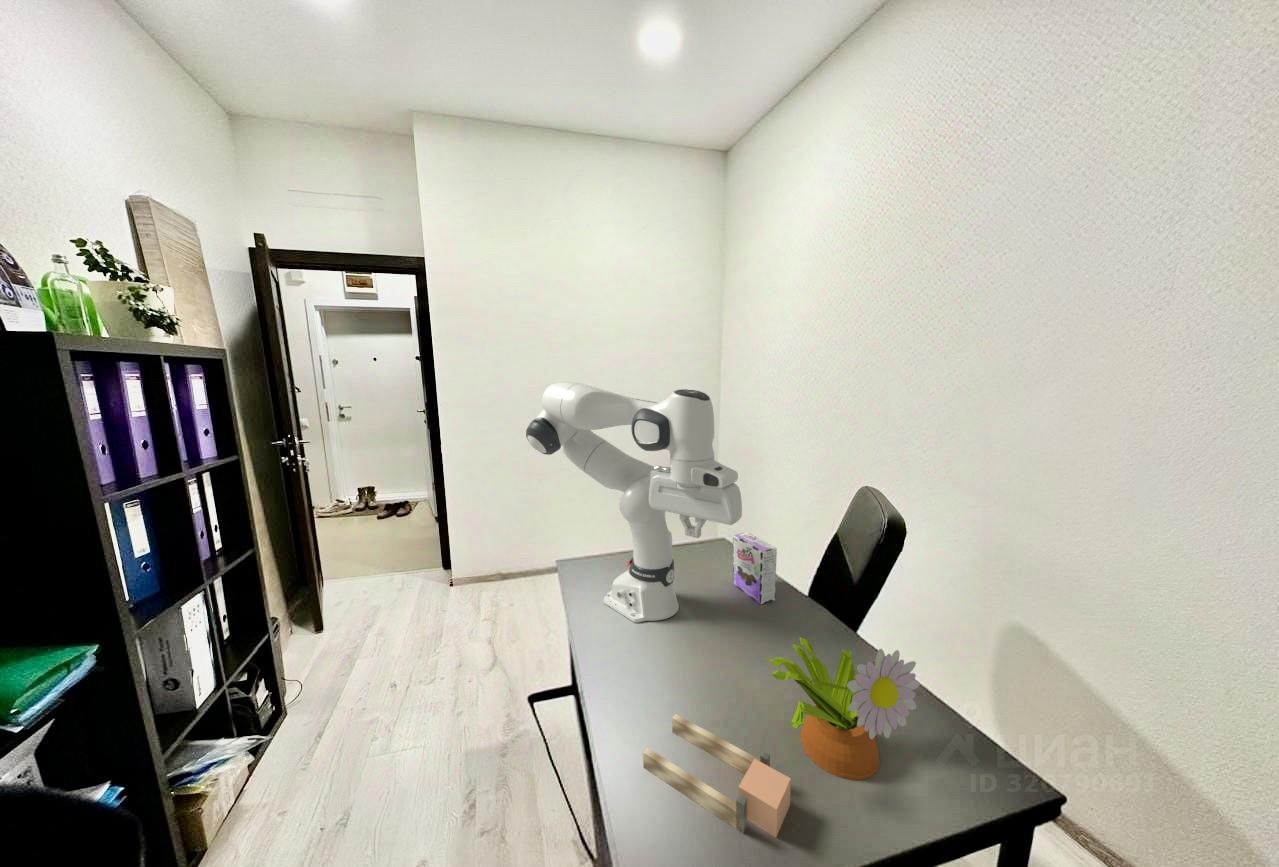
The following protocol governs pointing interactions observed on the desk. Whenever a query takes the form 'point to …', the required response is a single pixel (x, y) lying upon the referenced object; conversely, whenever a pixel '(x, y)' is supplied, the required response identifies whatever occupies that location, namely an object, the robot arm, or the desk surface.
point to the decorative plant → (850, 708)
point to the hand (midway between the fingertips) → (693, 535)
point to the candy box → (754, 567)
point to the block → (766, 796)
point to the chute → (696, 788)
